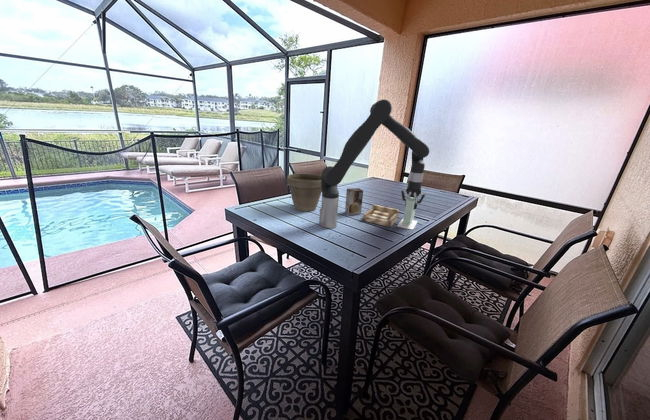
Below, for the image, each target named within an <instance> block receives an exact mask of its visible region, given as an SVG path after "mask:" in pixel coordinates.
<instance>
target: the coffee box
mask: <svg viewBox="0 0 650 420" xmlns="http://www.w3.org/2000/svg"><path fill="white" fill-rule="evenodd" d="M363 197H364V190H363V189H362V188H360V187H354V188H346V195H345V207H344V212H345V213H346V214H347V215H348V216H353V215H354V216H355V215H361V214H362V207H363Z"/></svg>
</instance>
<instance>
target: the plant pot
mask: <svg viewBox="0 0 650 420" xmlns="http://www.w3.org/2000/svg"><path fill="white" fill-rule="evenodd" d="M321 177H322V174H321V175H320V174H316V173H304V172H303V173H291V174H288V175H287V177H286V181H287V182H286V183H287V185H288V187H289V191H290V195H291V199H292V203H293V204H292V205H293V207H294V209H295V210H297V211H299V212H313V211H315V210H316V209H317V207H318V205H319V201H320V198H321V197H322V190H321Z"/></svg>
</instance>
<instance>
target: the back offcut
mask: <svg viewBox="0 0 650 420" xmlns="http://www.w3.org/2000/svg"><path fill="white" fill-rule="evenodd" d="M373 214H377V215H381V216H385V217H387V221H389V219H390V218H389V214H388V213H384V212H380V211H374V212H373Z"/></svg>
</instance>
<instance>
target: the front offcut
mask: <svg viewBox="0 0 650 420" xmlns="http://www.w3.org/2000/svg"><path fill="white" fill-rule="evenodd" d="M371 217H374V218H379V219H383V220H387V217H385V216H381V215H377V214H372V216H371Z"/></svg>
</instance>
